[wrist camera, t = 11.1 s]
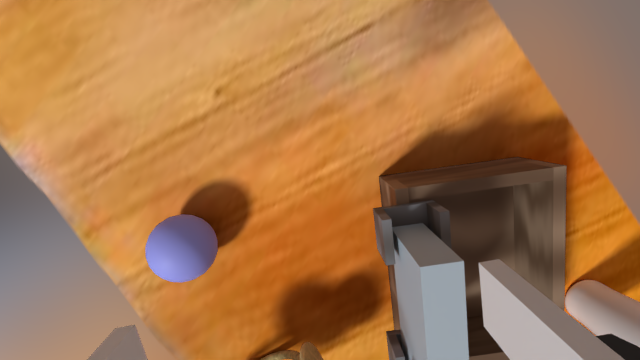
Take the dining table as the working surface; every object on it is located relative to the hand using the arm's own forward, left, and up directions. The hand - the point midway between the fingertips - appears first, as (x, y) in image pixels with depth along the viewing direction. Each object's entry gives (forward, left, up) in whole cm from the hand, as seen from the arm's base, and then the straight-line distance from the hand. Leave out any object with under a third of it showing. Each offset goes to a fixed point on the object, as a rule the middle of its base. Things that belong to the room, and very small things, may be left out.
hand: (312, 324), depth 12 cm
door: (+10, +8, -17) cm, 21 cm away
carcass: (+10, +15, -25) cm, 30 cm away
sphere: (+4, -14, -25) cm, 29 cm away
